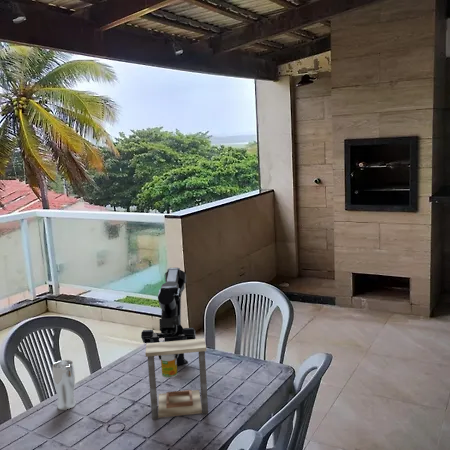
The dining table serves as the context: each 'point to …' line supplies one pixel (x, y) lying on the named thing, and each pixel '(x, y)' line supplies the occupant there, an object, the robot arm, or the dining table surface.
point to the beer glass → (64, 383)
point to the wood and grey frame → (177, 400)
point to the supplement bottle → (169, 365)
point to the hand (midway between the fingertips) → (168, 358)
